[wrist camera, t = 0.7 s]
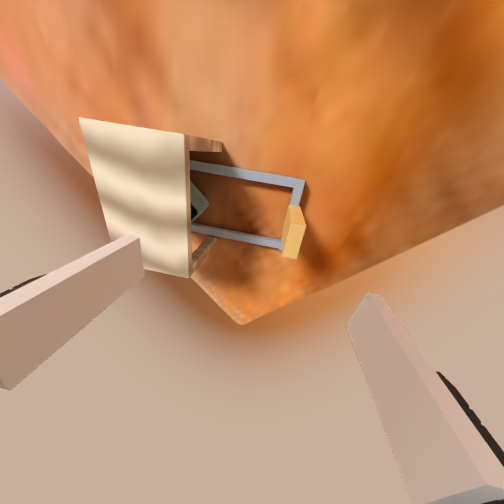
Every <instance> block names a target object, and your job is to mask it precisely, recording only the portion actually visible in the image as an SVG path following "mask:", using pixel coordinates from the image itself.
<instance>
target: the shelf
mask: <svg viewBox="0 0 504 504" xmlns="http://www.w3.org/2000/svg"><path fill="white" fill-rule="evenodd" d="M78 119H79V122H80V126H81V130H82V134H83V137H84V141H85V145H86V149H87V153H88V156H89V160H90V164H91V168H92V171H93V175H94V179H95V183H96V187H97V190H98V194H99V198H100V202H101V205H102V209H103V213H104V217H105V221H106V224H107V228H108V232H109V236H110V239H111V242H113V241H115V240H117V239H119V238H121V237H123V236H125V235H131V236H136V237H140V244H141V252H142V260H143V267H144V269H148V270H152V271H157V272H161V273H166V274H171V275H175V276H180V277H185V278H189V277H190V276H191V275H192V273H193V272H194V271H195V270H196V268H197V267H198V266H199V264H200V263H201V262H202V260H203V259H204V258H205V256H206V255H207V254H208V252H209V251H210V250H211V249H212V247H213V246H214V245H215V243H216V242H217V236H212V235H209V236H208V237H207V238H206V240H205V241H204V242H203V243H202V244H201V245H200V246H199V247H198V248H197V249H196V250H195V252H194V253H193V254H192V247H191V205H190V162H189V151H206V152H222V142H218V141H214V140H209V139H204V138H199V137H194V136H189V135H185V134H179V133H173V132H166V131H160V130H154V129H148V128H142V127H135V126H129V125H123V124H117V123H111V122H105V121H98V120H92V119H86V118H80V117H78Z"/></svg>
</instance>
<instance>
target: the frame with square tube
mask: <svg viewBox="0 0 504 504" xmlns="http://www.w3.org/2000/svg"><path fill="white" fill-rule="evenodd" d="M189 162H190V170H195V171H201V172H206V173H212V174H218V175H224V176H229V177H235V178H241V179H247V180H252V181H258V182H264V183H270V184H275V185H281V186H287V187H292V188H293V191H292V195H291V199H290V203H289V205H288V209H287V213H286V217H285V222H284V226H283V230H282V236H281V240H280V239H275V238H270V237H264V236H259V235H254V234H249V233H244V232H238V231H233V230H228V229H223V228H218V227H213V226H207V225H202V224H197V223H191V231H192V232H197V233H202V234H207V235H212V236H217V237H222V238H227V239H232V240H238V241H243V242H248V243H253V244H258V245H263V246H268V247H273V248H278V249H279V251H282V257H287V258H292V259H296V258H297V255H298V252H299V249H300V245H301V242H302V239H303V236H304V232H305V229H306V223H305V220H304V217H303V214H302V211H301V208H300V206H299V203H300V199H301V195H302V192H303V188H304V184H305V179H300V178H294V177H289V176H283V175H277V174H271V173H265V172H259V171H253V170H248V169H242V168H236V167H230V166H224V165H218V164H212V163H207V162H201V161H195V160H189Z"/></svg>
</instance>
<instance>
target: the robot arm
mask: <svg viewBox="0 0 504 504" xmlns="http://www.w3.org/2000/svg"><path fill="white" fill-rule="evenodd" d="M143 276H144V267H143V260H142V252H141V244H140V237H136V236H131V235H125V236H123V237H121V238H119V239H117V240H115V241H113V242H111V243H109V244H107V245H105V246H103V247H101V248H99V249H97V250H95V251H93V252H91V253H89V254H87V255H85V256H83V257H81V258H79V259H77V260H75V261H73V262H71V263H69V264H67V265H65V266H63V267H61V268H59V269H57V270H55V271H53V272H51V273H49V274H45V275H42V276H39V277H36V278H32V279H29V280H27V281H25V282H23V283H21V284H19V285H17V286H15V287H13V289H11V290H7V291H5V292H3V293H1V294H0V388H4V389H7V390H12V389H13V388H14V387H15V386H16V385H17V384H19V383H20V382H21V381H22V380H23V379H24V378H26V377H27V376H28V375H29V374H30V373H31V372H32V371H34V370H35V369H36V368H37V367H38V366H39V365H41V364H42V363H43V362H44V361H45V360H47V359H48V358H49V357H50V356H51V355H52V354H53V353H55V352H56V351H57V350H58V349H59V348H60V347H62V346H63V345H64V344H65V343H66V342H68V341H69V340H70V339H71V338H72V337H73V336H75V335H76V334H77V333H78V332H79V331H80V330H82V329H83V328H84V327H85V326H86V325H87V324H89V323H90V322H91V321H92V320H93V319H94V318H96V317H97V316H98V315H99V314H100V313H101V312H102V311H104V310H105V309H106V308H107V307H108V306H110V305H111V304H112V303H113V302H114V301H115V300H117V299H118V298H119V297H120V296H121V295H122V294H124V293H125V292H126V291H127V290H128V289H129V288H131V287H132V286H133V285H134V284H135V283H136V282H137V281H139V280H140V279H141V278H142V277H143ZM346 328H347V331H348V333H349V336H350V339H351V341H352V344H353V347H354V349H355V352H356V355H357V358H358V360H359V363H360V366H361V368H362V371H363V374H364V376H365V379H366V382H367V384H368V387H369V390H370V392H371V395H372V398H373V400H374V403H375V406H376V409H377V411H378V414H379V417H380V419H381V422H382V425H383V428H384V430H385V433H386V436H387V438H388V441H389V444H390V446H391V449H392V452H393V455H394V457H395V460H396V463H397V465H398V468H399V471H400V473H401V476H402V478H403V481H404V484H405V487H406V490H407V492H408V495H409V498H410V500H411V503H412V504H504V452H503V451H502V449H501V448H500V446H499V445H498V444H497V442H496V441H495V440H494V439H493V437H492V436H491V434H490V433H489V432H488V430H487V429H486V428H485V427H484V426H482V425H481V421H480V420H479V418H478V417H477V416H476V414H475V413H474V412H473V410H471V409H469V405H468V404H467V402H466V401H465V400H464V398H463V397H462V396H461V395H460V393H459V392H458V390H457V389H456V388H455V387H454V386H453V385H452V384H451V383H450V382H449V381H448V380H447V379H446V378H445V377H444V376H443V375H442V374H441V373H440V372H436V371H435V370H434V369H433V367H432V366H431V364H430V363H429V362H428V360H427V359H426V357H425V356H424V355H423V353H422V352H421V350H420V349H419V347H418V346H417V345H416V343H415V342H414V340H413V339H412V338H411V336H410V335H409V333H408V332H407V331H406V329H405V328H404V326H403V325H402V324H401V322H400V321H399V319H398V318H397V317H396V315H395V314H394V312H393V311H392V309H391V308H390V307H389V305H388V304H387V302H386V301H385V300H384V298H383V297H382V296H381V295H378V294H374V293H369V292H367V293H366V295H365V296H364V298H363V299H362V301H361V302H360V304H359V305H358V307H357V309H356V310H355V312H354V313H353V315H352V317H351V318H350V320H349V321H348V323H347V324H346Z"/></svg>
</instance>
